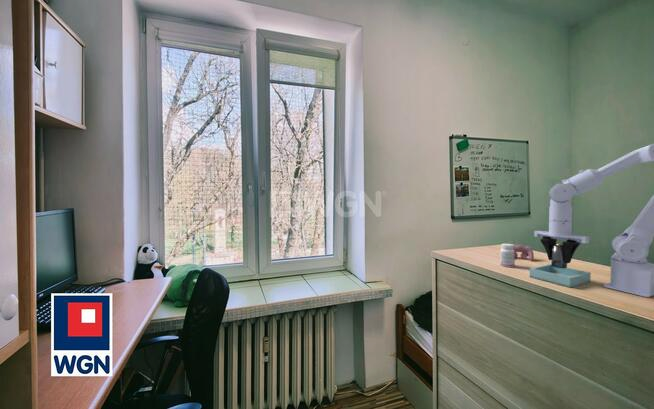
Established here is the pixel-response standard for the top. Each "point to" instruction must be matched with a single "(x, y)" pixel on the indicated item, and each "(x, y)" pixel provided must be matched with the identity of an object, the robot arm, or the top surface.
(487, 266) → the top surface
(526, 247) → the video game controller
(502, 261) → the pill bottle
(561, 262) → the dark grey bottle
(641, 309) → the top surface
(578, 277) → the tray
